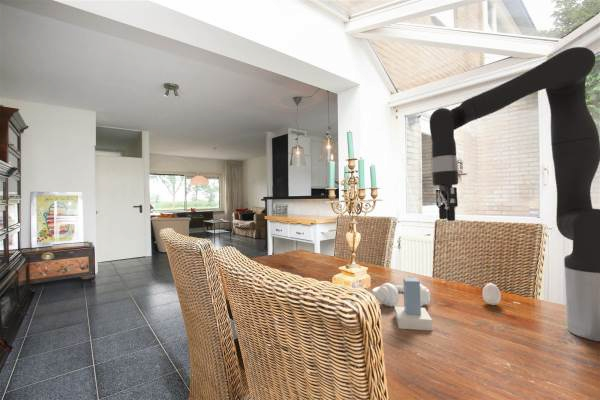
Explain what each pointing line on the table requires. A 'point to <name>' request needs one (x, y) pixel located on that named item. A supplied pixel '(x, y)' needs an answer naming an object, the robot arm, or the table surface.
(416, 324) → the base
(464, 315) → the table surface
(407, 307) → the pillar
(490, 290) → the egg
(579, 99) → the robot arm
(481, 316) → the table surface
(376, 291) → the headphones
